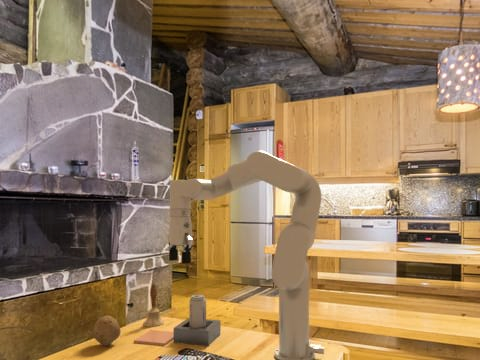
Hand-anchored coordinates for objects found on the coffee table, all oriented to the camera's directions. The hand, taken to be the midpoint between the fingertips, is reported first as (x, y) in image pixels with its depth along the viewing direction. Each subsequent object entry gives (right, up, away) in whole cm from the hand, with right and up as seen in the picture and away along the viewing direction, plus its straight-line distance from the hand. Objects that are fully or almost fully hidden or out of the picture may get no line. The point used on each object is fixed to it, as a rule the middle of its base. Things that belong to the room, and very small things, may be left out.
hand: (179, 261), depth 139 cm
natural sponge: (-25, -28, -6) cm, 38 cm away
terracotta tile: (-8, -28, +1) cm, 29 cm away
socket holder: (+6, -28, +1) cm, 29 cm away
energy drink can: (+6, -28, +1) cm, 29 cm away
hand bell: (-14, -30, +19) cm, 37 cm away
